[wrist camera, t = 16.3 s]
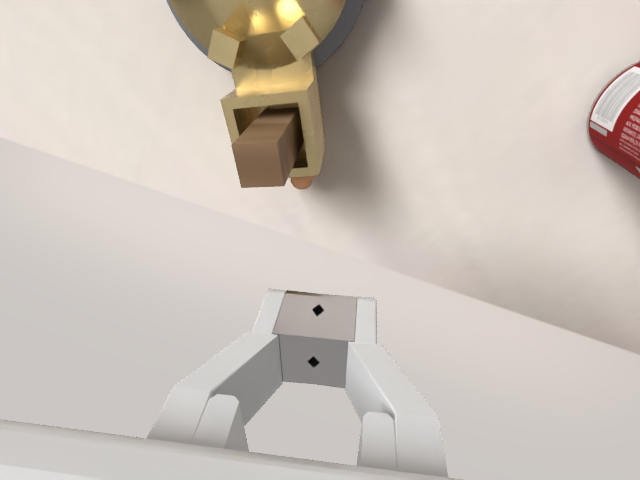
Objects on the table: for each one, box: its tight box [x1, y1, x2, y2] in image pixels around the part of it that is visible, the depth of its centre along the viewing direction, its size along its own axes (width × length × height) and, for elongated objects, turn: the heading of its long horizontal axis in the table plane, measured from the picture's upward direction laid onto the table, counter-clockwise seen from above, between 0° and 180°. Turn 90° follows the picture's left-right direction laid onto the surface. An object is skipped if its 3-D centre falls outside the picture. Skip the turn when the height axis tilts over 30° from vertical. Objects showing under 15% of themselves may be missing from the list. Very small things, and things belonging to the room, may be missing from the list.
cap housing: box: [167, 0, 364, 189], centre depth 24 cm, size 16×18×3 cm
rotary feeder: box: [169, 0, 346, 178], centre depth 21 cm, size 17×11×4 cm, turn 7°
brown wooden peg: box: [232, 107, 304, 188], centre depth 22 cm, size 2×2×7 cm
